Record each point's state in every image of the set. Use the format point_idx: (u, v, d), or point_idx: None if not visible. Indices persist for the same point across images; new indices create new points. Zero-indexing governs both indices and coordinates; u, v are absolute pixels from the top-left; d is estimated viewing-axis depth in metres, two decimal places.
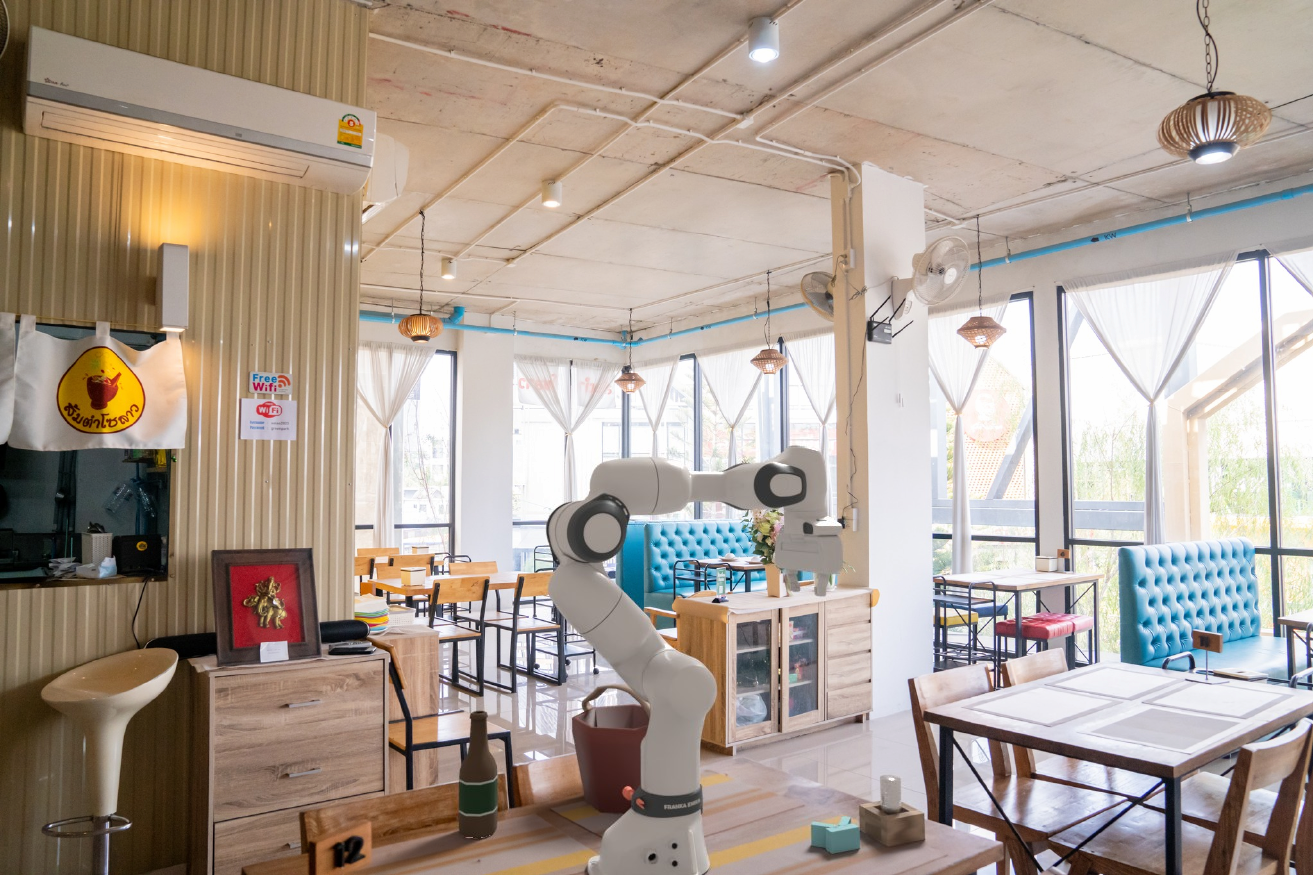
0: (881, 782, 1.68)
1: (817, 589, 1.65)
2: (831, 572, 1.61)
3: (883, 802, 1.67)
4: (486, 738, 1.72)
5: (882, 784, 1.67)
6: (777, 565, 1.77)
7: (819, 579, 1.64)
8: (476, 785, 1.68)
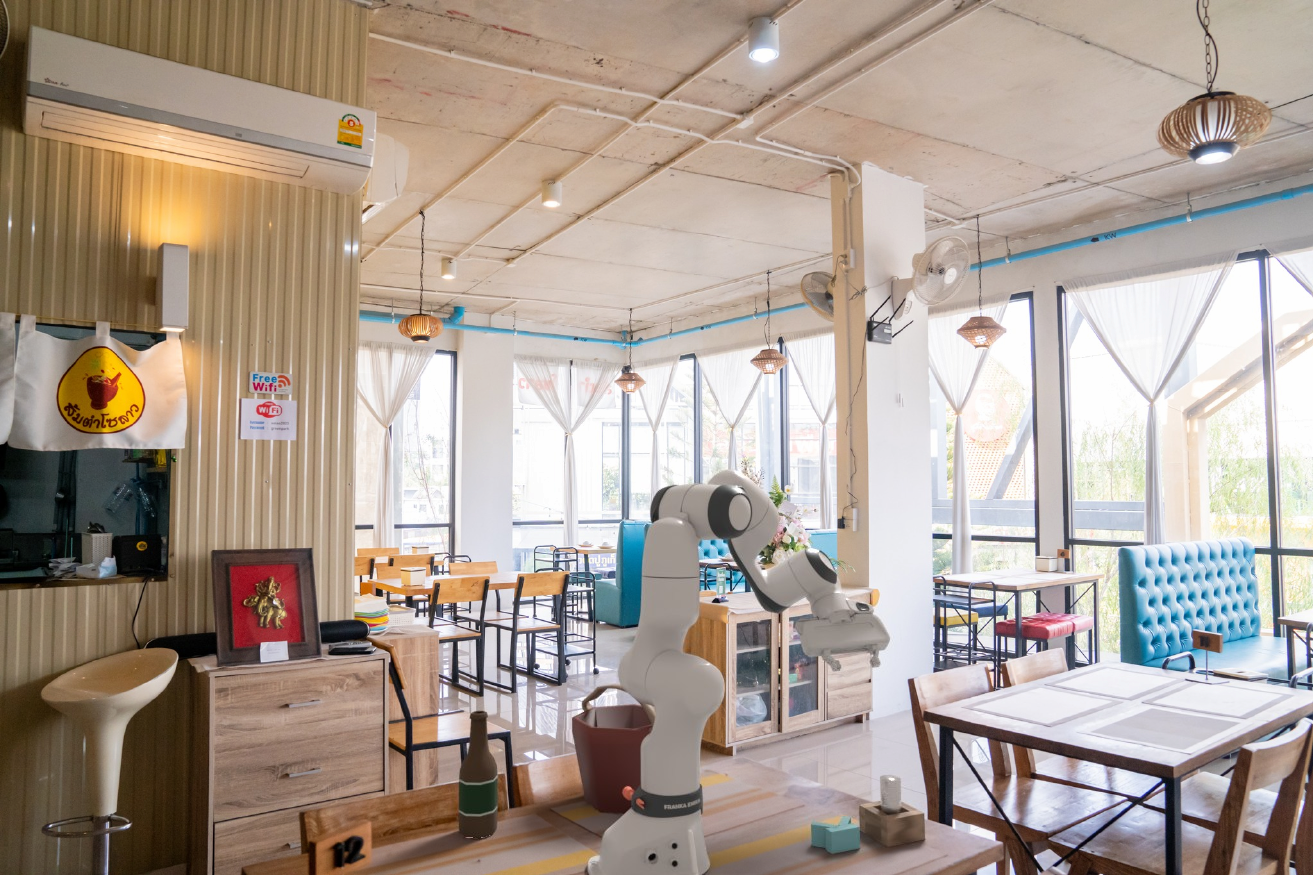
0: (881, 782, 1.68)
1: (877, 658, 1.83)
2: None
3: (883, 802, 1.67)
4: (486, 738, 1.72)
5: (882, 784, 1.67)
6: (815, 646, 1.81)
7: (877, 649, 1.84)
8: (476, 785, 1.68)
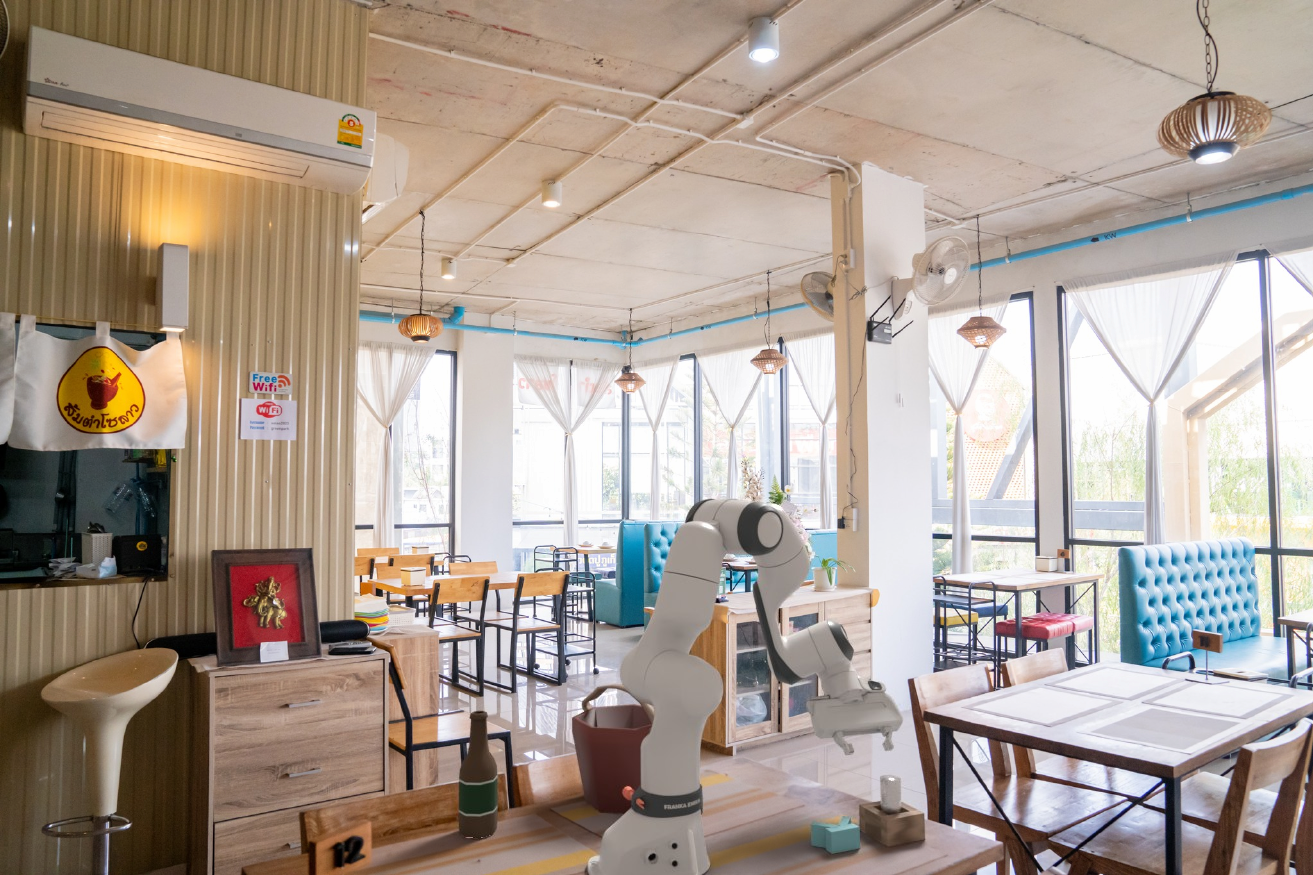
0: (881, 782, 1.68)
1: (890, 741, 1.78)
2: None
3: (883, 802, 1.67)
4: (486, 738, 1.72)
5: (882, 784, 1.67)
6: (827, 728, 1.76)
7: (890, 731, 1.79)
8: (476, 786, 1.68)
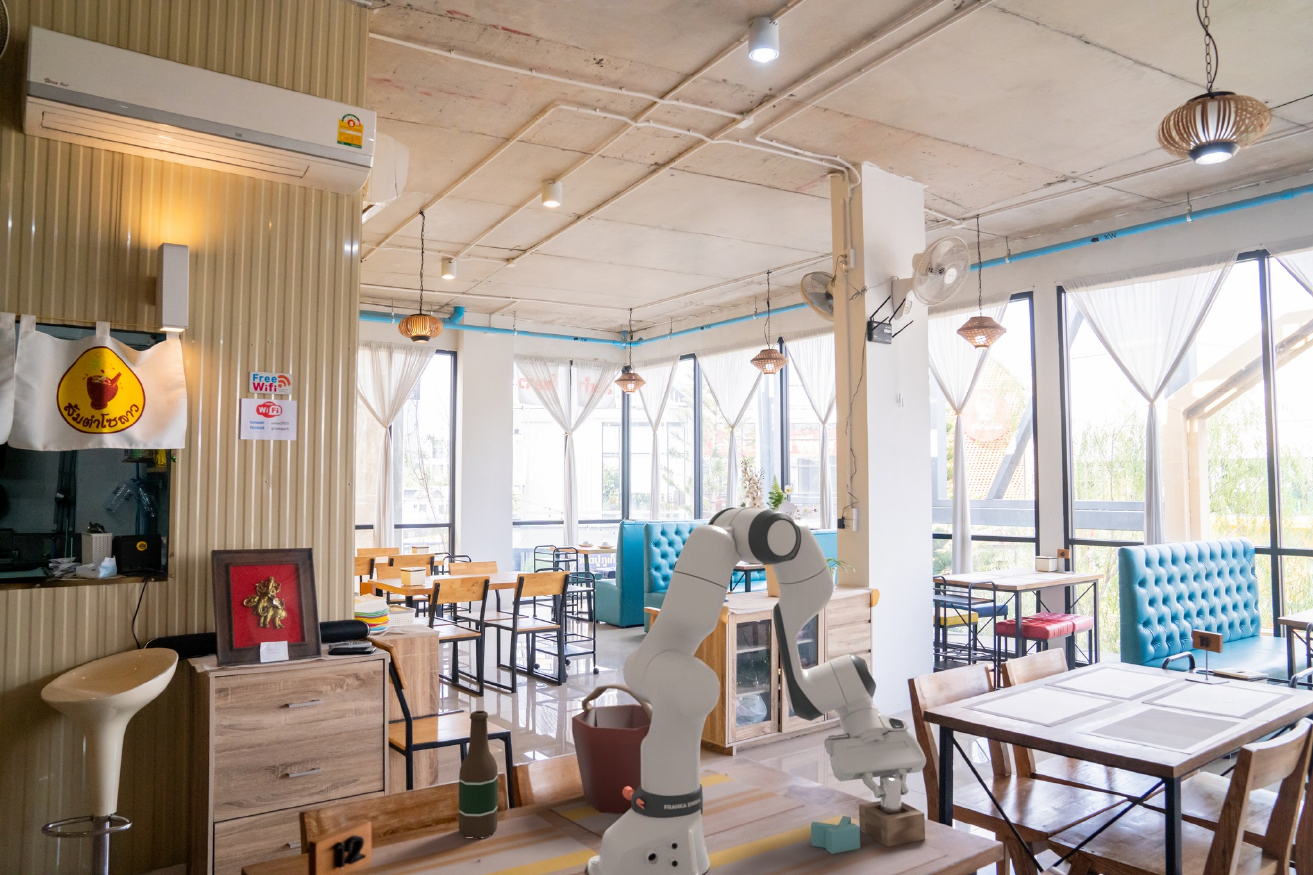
0: (881, 782, 1.68)
1: (904, 784, 1.69)
2: None
3: (883, 802, 1.67)
4: (486, 738, 1.72)
5: (882, 784, 1.67)
6: (847, 770, 1.68)
7: (905, 774, 1.70)
8: (476, 785, 1.68)
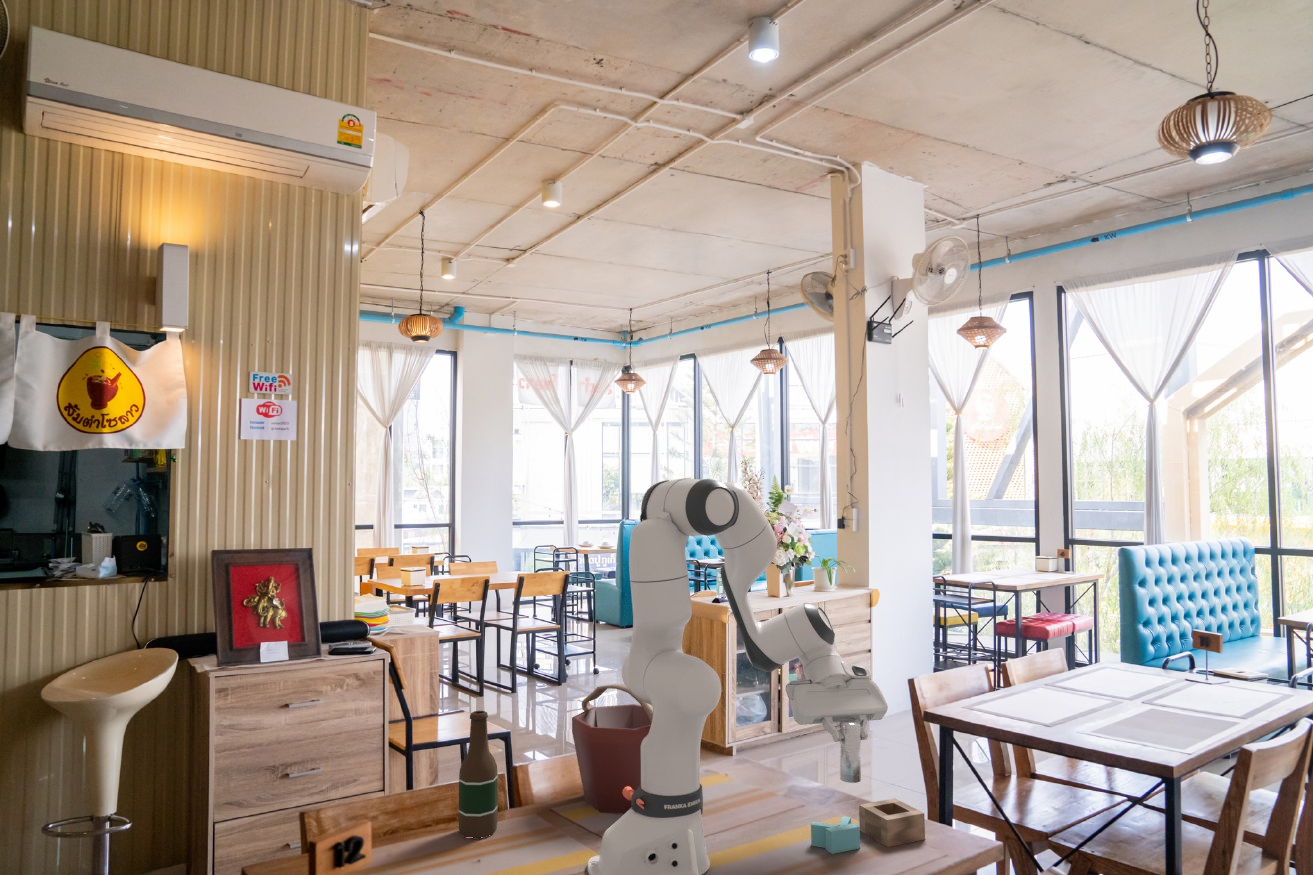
0: (841, 726, 1.67)
1: (864, 729, 1.68)
2: (886, 711, 1.72)
3: (842, 746, 1.66)
4: (486, 738, 1.72)
5: (842, 728, 1.66)
6: (806, 713, 1.67)
7: (865, 719, 1.69)
8: (476, 785, 1.68)
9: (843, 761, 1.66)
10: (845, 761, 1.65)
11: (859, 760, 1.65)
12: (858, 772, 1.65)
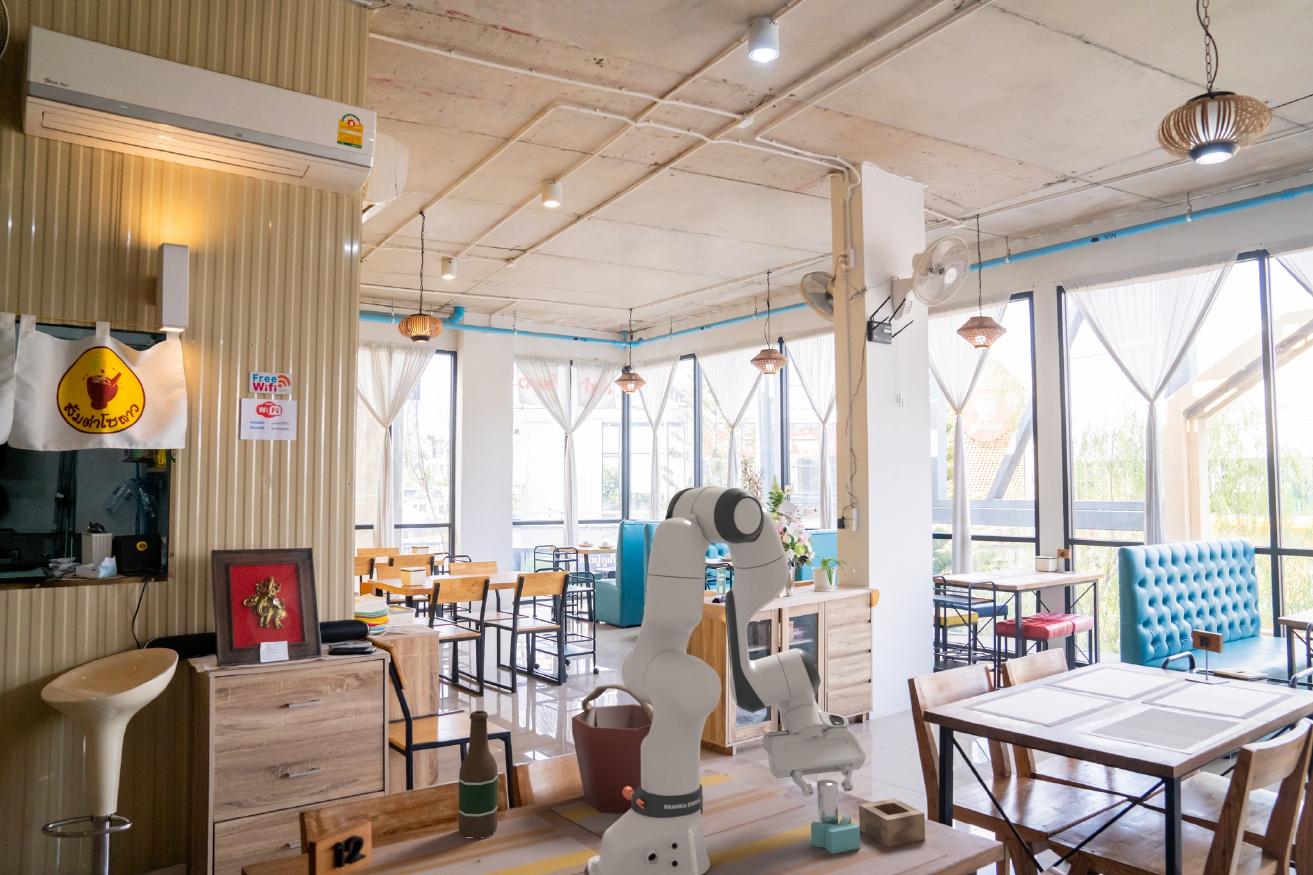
0: (818, 786, 1.65)
1: (849, 780, 1.67)
2: (864, 761, 1.71)
3: (820, 807, 1.65)
4: (486, 738, 1.72)
5: (819, 789, 1.65)
6: (783, 767, 1.65)
7: (850, 770, 1.69)
8: (476, 785, 1.68)
9: (820, 822, 1.64)
10: (822, 822, 1.64)
11: (837, 821, 1.64)
12: None
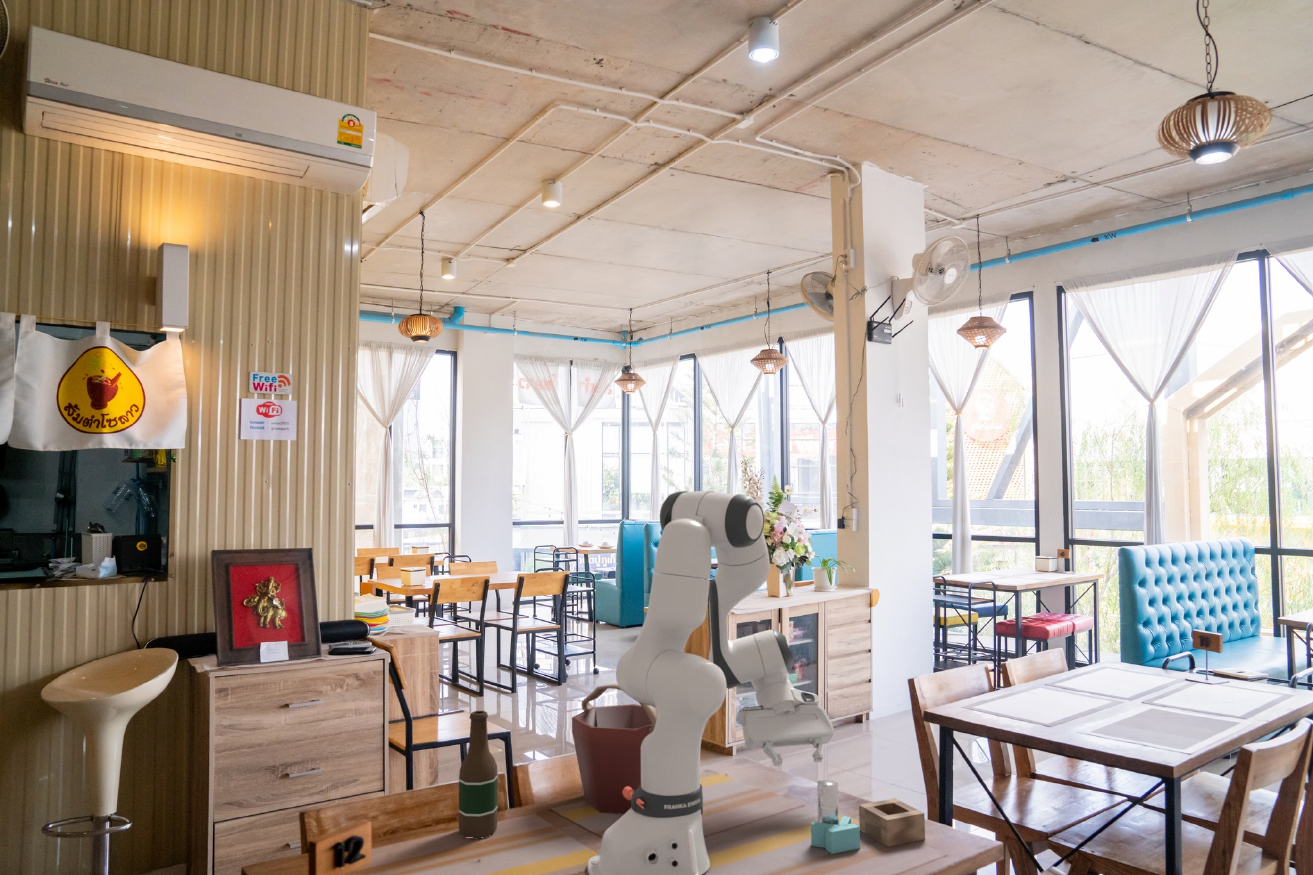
0: (818, 786, 1.65)
1: (819, 752, 1.79)
2: None
3: (820, 807, 1.64)
4: (486, 738, 1.72)
5: (819, 789, 1.65)
6: (756, 738, 1.78)
7: (820, 743, 1.81)
8: (476, 786, 1.68)
9: (820, 822, 1.64)
10: (822, 822, 1.64)
11: (837, 821, 1.64)
12: None
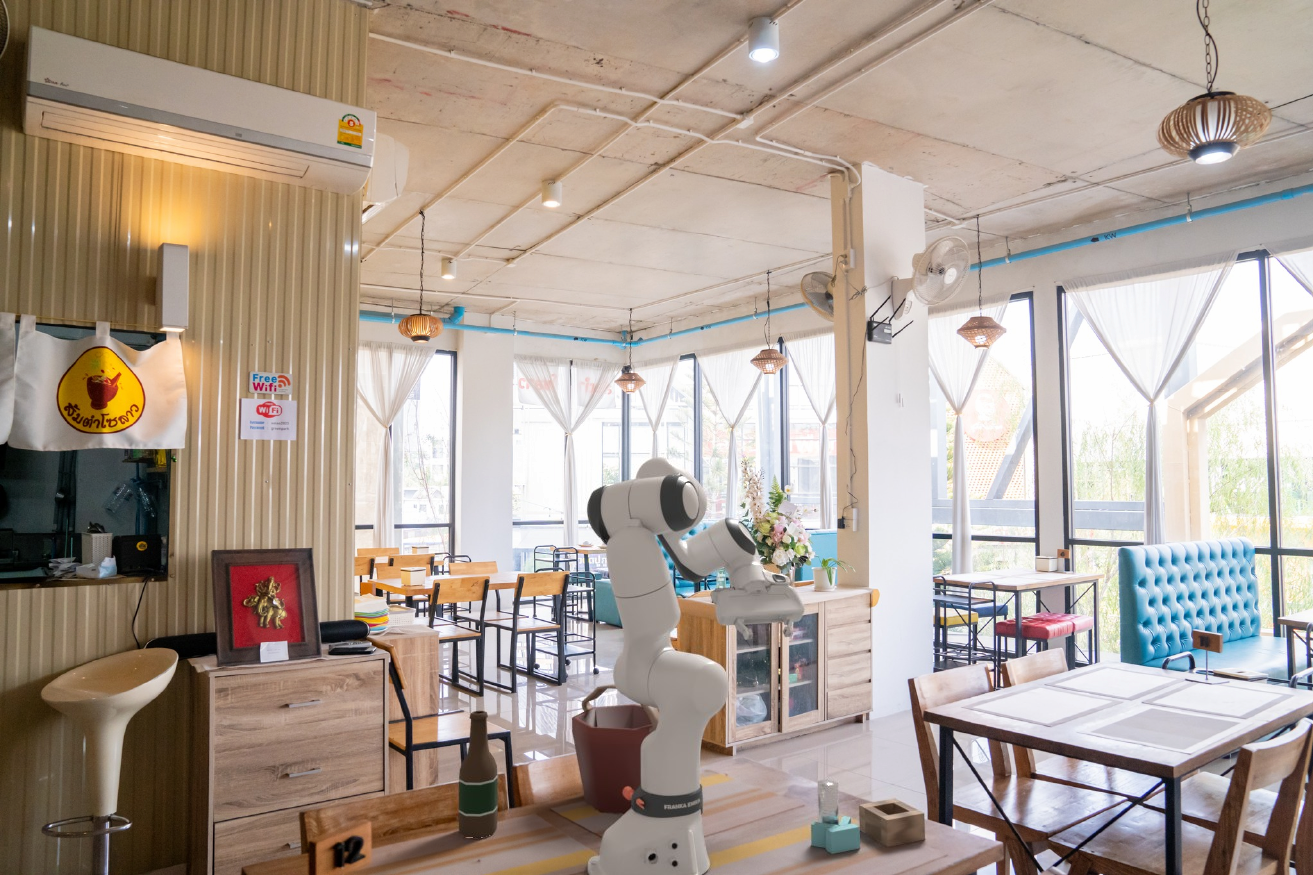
0: (818, 786, 1.65)
1: (790, 627, 1.84)
2: (803, 613, 1.88)
3: (820, 807, 1.64)
4: (486, 738, 1.72)
5: (819, 789, 1.65)
6: (728, 614, 1.82)
7: (791, 619, 1.86)
8: (476, 786, 1.68)
9: (820, 822, 1.64)
10: (823, 822, 1.64)
11: (837, 821, 1.64)
12: None
